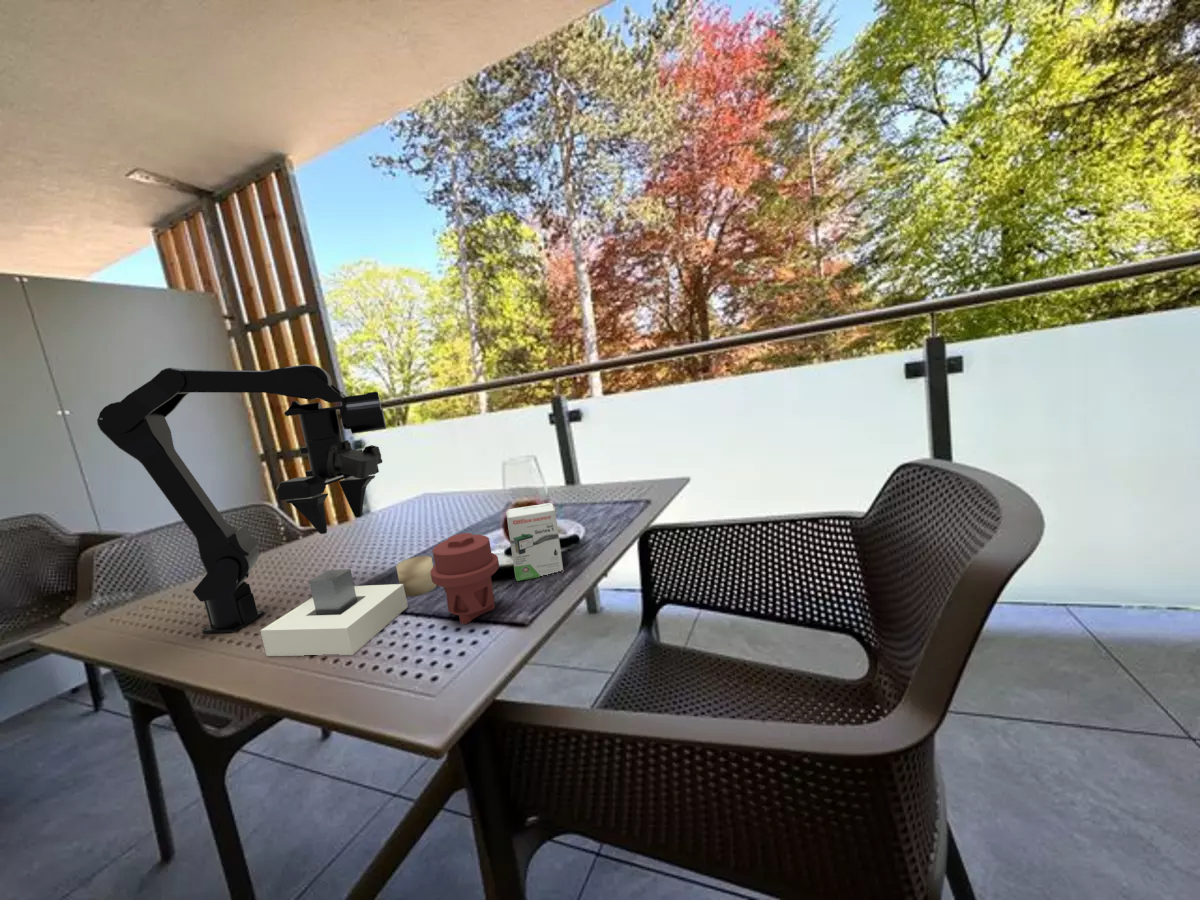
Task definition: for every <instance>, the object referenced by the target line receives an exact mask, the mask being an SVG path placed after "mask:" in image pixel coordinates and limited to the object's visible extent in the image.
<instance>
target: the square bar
mask: <svg viewBox="0 0 1200 900" xmlns="http://www.w3.org/2000/svg"><path fill="white" fill-rule="evenodd" d="M308 583H309V587H310V588H309V589H310V590H311V595H312V598H313V601H314V605H315V610H316V614H317V615H341V614H342V613H344V612H345V611H346V610H348V609H349V608H351V607H352V606H353V605H355V604H356V603H357V598H356V593H355V588H354V586H355V584H354V580H353V575H352V569H351V568H348V569H347V568H346V569H330V570H329V569H327V570H326V571H324V572H322V573H321V574H319V575H317V576H316V577H313V578H311V579H310V580H308Z"/></svg>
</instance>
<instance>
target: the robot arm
mask: <svg viewBox="0 0 1200 900" xmlns="http://www.w3.org/2000/svg"><path fill="white" fill-rule="evenodd" d="M191 393H230V394H231V393H233V394H234V393H235V394H236V393H242V394H245V393H249V394H250V393H251V394H252V393H253V394H254V393H257V394H258V393H261V394H262V393H267V394H272V395H278V396H284V397H289V398H290V397H291V398H297V399H304V400H316V399H317V400H318V399H320V400H322V401H325V402H326V403H328V404H331V403H339V402H340V403H341V405H338V406H331V407H330V406H329V407H323V406H322V403H321V402H320V401H318V402H311V403H305V404H304V403H300V402H299V401H298V400H293V401H291V405H290V406H289V407H288V409H287V410H286V411H284V414H283V415H284V416H285V417H291V416H298V417H299V422H300V426H301V431H302V436H303V439H304V440H303V441H304V444H305V446H303V447H300V448H299V449H300V454H302V455H303V454H307V457H308V461H309V462H308V463H309V466H310V470H306V471H305V476H302V477H301V476H300V477H294V478H291V479H288V480H285V481H284V480H283V481H281V482H279V483H278V485H277V486H276V488H275V489H276V494H277V498H278V501H285V503H286V504H291V505H292V506H293V507H294V508H295V509H297V510H298V511H299V512H300V513H301V514H302V515H303V516H304V517H305V519H306V520H307V521H308V522H309V523H310V524H311V525H312V526H313V527H314V529H315V530H316V531H317V532H318V533H319V534H320V535H324V534H325V535H326V534H327V532H328V528H327V527H328V526H327V520H326V519H327V518H326V512H325V505H324V503H325V501H326V499H327V498H328V495H329V493H328V492H327V493H324V492H325V490H326V487H327V485H331V484H334V483H336V482H339V483H338V484H339V485H340V488H341V490H342V492H343V494H344V497H345V499H346V502H347V503H348V505H349V508H350V511H351V512H352V514H353V516H354V517H355V518H360V517H362V515H363V508H364V501H365V494H366V489H367V486H368V485H369V484H370V483H371V481H373V479H376V474H378V473H380V471H379V470H380V469H379V466H378V465H380V464H382V463H383V459H382V454H381V451H380V447H379V446H376V445H372V444H370V445H367V446H365V447H364V448H363V449H358V450H357V449H354V448H352V444H351V442H349V440H343V435H342V432H341V427H340V423H339V422H340V421H339V417H338V412H337V411H338V410H339V413H340V419H341V423H342V426H343V429H344V430H350V431H351V433H352V435H354V434H360V433H367V432H374V431H375V432H376V431H379V430H381V431H382V430H387V423H386V419H385V413H384V408H382V404H381V399H380V396H379V392H378V391H370V392H367V393H364V394H363V393H362V394H356V395H348V396H347V395H346V394H344V392H343V391H341V390H339V388H337V387H336V386H335V385H333V381H332V377H331V375H330V374H329V373H328V372H327V371H326V370H325V369H324V368H322V367H320V366H316V365H314V364H308V363H307V364H298V365H292V366H285V367H280V368H279V367H278V368H274V369H267V370H247V369H246V370H244V369H243V370H240V369H239V370H236V369H235V370H233V369H229V370H228V369H219V370H218V369H185V368H179V367H178V368H177V367H167V368H164V369H161V370H160V371H159V372H158V373H157V374H156V375H155V376H153V378H152V379H151V380H149V381H148V382H146V383H144V384H142V385H141V386H139V387H138V388H137V389H134V390H133V391H132V392H130V393H129V394H127V395H126V396H125V397H124V398H123V399H121V400H120V401H116V402H111V403H109V404H107V405H105V406H104V407H103V408H102V410H101V411H100V412H99V414H98V417H97V419H96V421H97V422H96V423H97V426H98V428H99V430H100V431H101V433H103V435H104V436H106V437H107V438H108V439H109V440H110V441H111V443H113V445H115V446H116V447H117V448H118V449H120V450H121V451H123V452H124V453H126V454H128V455H129V456H131V457H132V458H133V459H135V460H137V461H138V462H139V463H140V464H141V465H142V466H143V467H144V469H145V471H147V473H148V475H149V476H150V477H151V479H153V482H155V484H156V486H157V487H158V488H159V489H160V491H161V492H162V494H163V495H164V496H165V498H166V500H167V501H168V502H169V504H170V505H171V506H172V507H173V508H174V509H173V510H175V511H176V514H178V515H179V517H180V519H182V521H183V522H184V524H185V525H186V527H187V528H188V529H189V531H190V532H191V533H192V535H193V536H194V538H195V540H196V543H197V549H198V554H199V558H200V561H201V563H202V565H203V568H204V569H205V572H206V574H205V575H204V576H203V578H202V579H201V581H199V583H198V584H197V585H196V587H195V588H194V589H193V590H192V592H193V594H194V595H195V596H196V598H197V599H198V600H199V601H200V602H203V603H204V607H205V610H206V614H207V618H208V621H209V625H208V626H206V627H204V628H202V629H201V633H203V634H206V633H209V634H210V633H235V632H236V631H238V630H239V628H240V629H241V628H243V627H245V626H246V625H248V624H250V623H252V622H253V621H255V620H256V619H258V618H260V617H261V616H264V615H265V614H266V611H265V610H263V609H262V610H261V609H260V610H258V608H257V605H256V599H255V596H254V595H255V594H254V593H253V592H252V588H251V585H250V583H247V582H246V580H247V579H248V578H249V577H250V572H251V570H252V569H253V568H254V566H255V565H256V564H257V562H258V559H259V556H260V554H259V548H258V546H259V545H260V543H259V542H258V541H257V540H255V539H254V538H253V537H252V535H251V532H250V531H249V528H248V527H247V526H246V525H242V526H241V527H239V528H238V529H237V528H235V527H234V526H232V525H231V524H229V523H228V522H227V521H226V520H225V519H224V518H223V516H222V515H221V513H220V511H218V509H217V508H216V506H215V505H214V503H213V502H212V500H211V499H210V497H209V496H208V495H207V493H206V491H204V489H203V487H202V486H201V485H200V483H199V482H198V480H197V479H196V478H195V476H194V474H193V473H192V472H191V471H190V469H189V468H188V466H187V464H186V463H185V462H184V461H183V459H182V458H181V456H180V454H178V452H177V451H176V449H175V447H174V440H173V436H172V431H171V428H170V426H169V424H168V422H167V419H166V417H168V416H169V415H170V414H171V413H172V412H174V411H175V409H176V408H177V407H178V405H180V403H181V402H182V401H183V399H184V398H185V397H186V396H188V395H189V394H191ZM249 622H250V623H249ZM247 623H248V624H247ZM244 625H245V626H244ZM242 626H243V627H242Z"/></svg>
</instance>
